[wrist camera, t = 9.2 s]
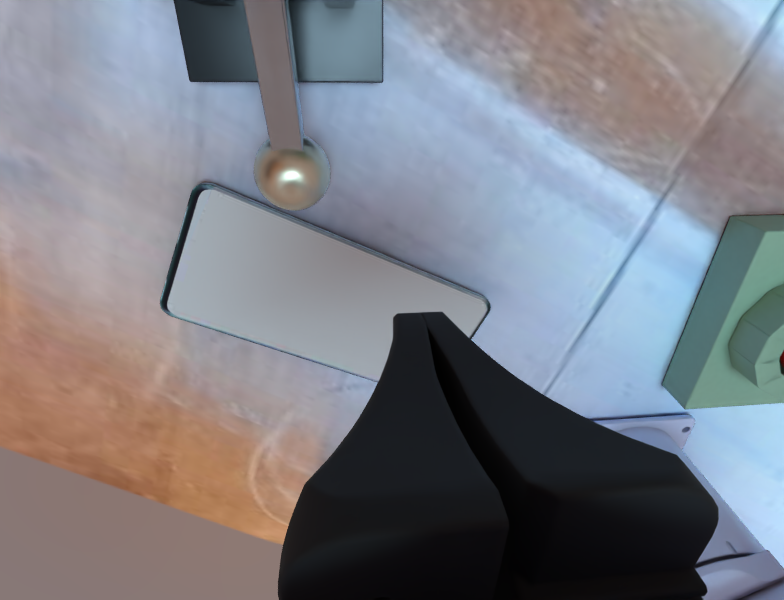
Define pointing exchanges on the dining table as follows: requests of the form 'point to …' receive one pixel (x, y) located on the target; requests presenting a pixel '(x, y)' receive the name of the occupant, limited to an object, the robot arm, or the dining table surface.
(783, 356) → the warm button
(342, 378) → the dining table surface
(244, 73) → the switch bracket
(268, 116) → the switch lever
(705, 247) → the dining table surface
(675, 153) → the dining table surface
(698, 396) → the control block
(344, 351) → the smartphone
